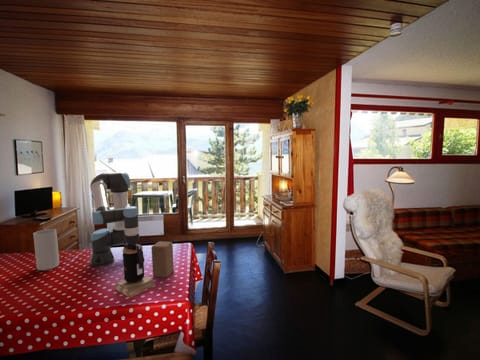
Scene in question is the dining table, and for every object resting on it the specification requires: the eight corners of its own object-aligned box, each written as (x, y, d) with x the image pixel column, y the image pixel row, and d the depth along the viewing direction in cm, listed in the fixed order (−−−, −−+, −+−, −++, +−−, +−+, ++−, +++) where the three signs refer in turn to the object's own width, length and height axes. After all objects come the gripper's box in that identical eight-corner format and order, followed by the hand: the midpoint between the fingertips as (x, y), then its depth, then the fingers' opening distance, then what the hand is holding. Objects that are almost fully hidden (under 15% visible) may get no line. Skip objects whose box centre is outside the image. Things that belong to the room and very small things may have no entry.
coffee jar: (128, 274, 150) (126, 245, 148) (146, 273, 151) (145, 244, 149) (121, 283, 140) (119, 252, 138) (141, 282, 141) (139, 251, 139)
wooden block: (167, 278, 156) (165, 247, 154) (152, 276, 158) (150, 246, 156) (174, 270, 166) (173, 241, 164) (160, 269, 168) (158, 240, 166)
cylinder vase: (32, 269, 172) (28, 233, 169) (52, 261, 183) (48, 228, 181) (44, 272, 167) (40, 235, 164) (63, 264, 179) (60, 230, 176)
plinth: (115, 289, 144) (115, 282, 144) (139, 278, 156) (138, 272, 156) (130, 297, 136) (130, 290, 135) (154, 285, 148) (153, 279, 147)
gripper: (114, 232, 146) (117, 268, 149) (137, 239, 133) (140, 279, 135) (126, 229, 152) (129, 264, 155) (150, 235, 139) (152, 274, 141)
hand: (134, 271), depth 145 cm, fingers closed on coffee jar, 11 cm apart
